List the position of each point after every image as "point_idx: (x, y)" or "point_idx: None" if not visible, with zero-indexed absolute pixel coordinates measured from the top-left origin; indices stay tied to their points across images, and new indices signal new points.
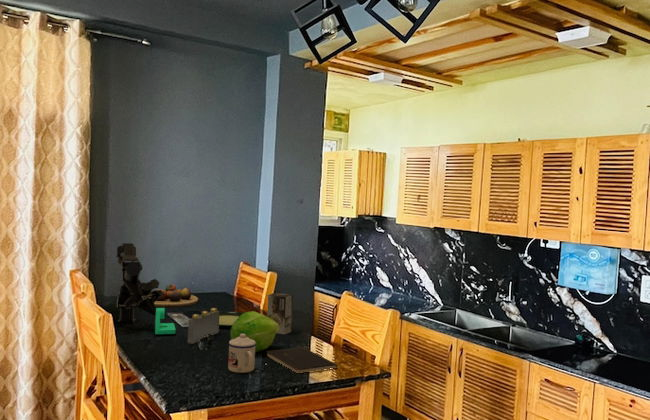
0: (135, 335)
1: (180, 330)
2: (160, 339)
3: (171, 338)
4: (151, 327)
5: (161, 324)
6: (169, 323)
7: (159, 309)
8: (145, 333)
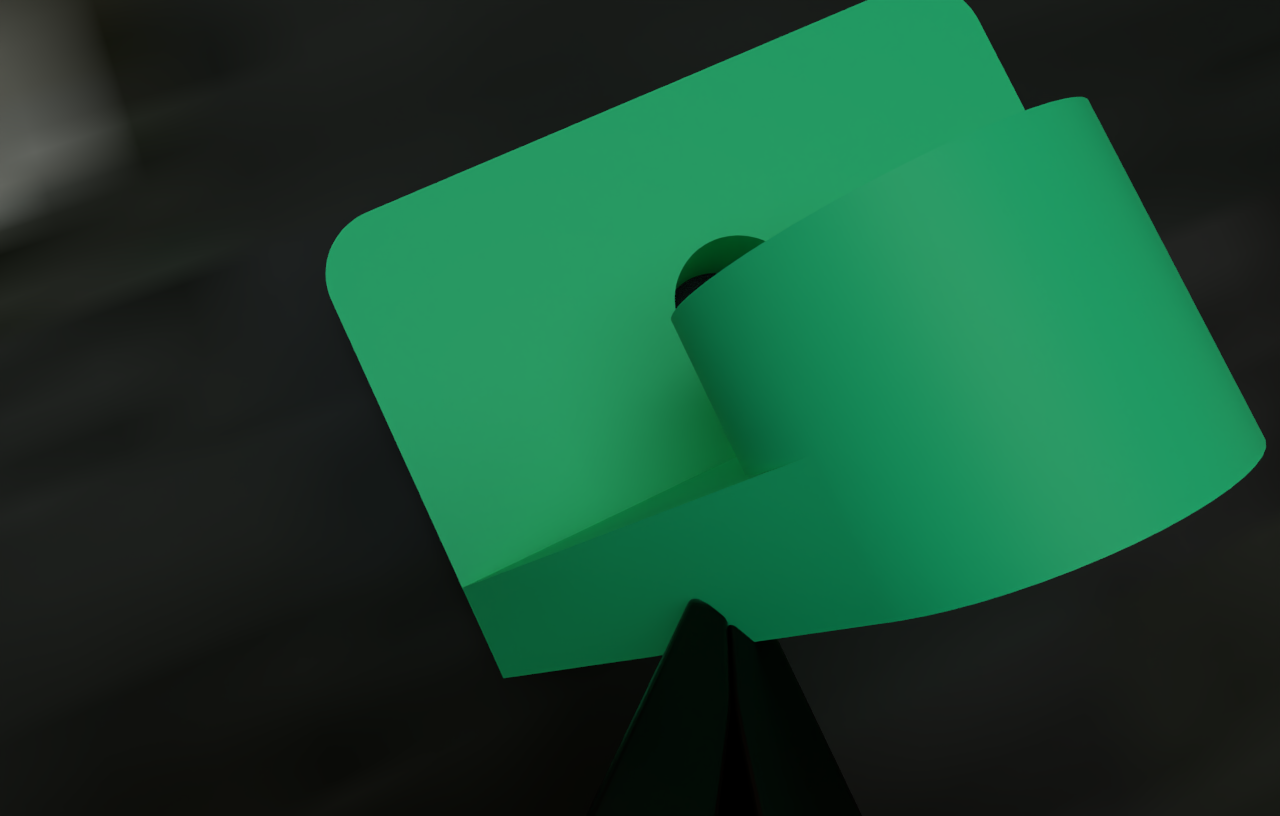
0: (1137, 791)
1: (445, 89)
2: (1227, 205)
3: (1092, 44)
4: (372, 794)
5: (556, 470)
6: (382, 324)
7: (1187, 319)
8: (920, 671)
